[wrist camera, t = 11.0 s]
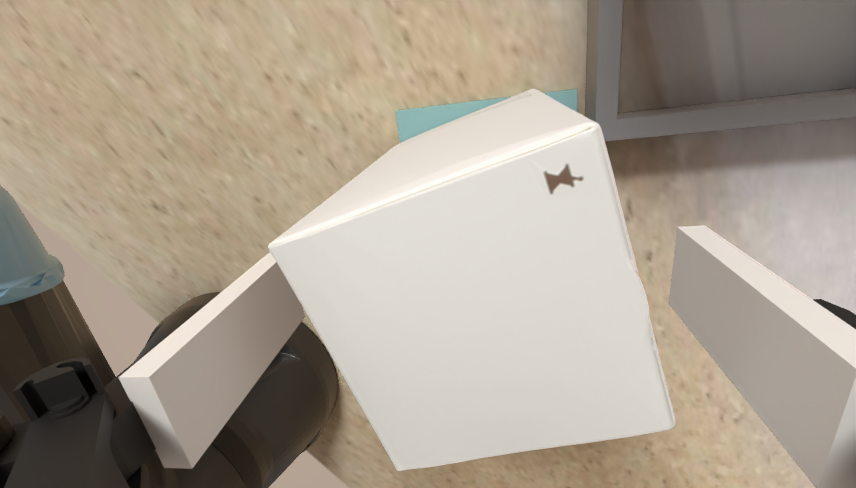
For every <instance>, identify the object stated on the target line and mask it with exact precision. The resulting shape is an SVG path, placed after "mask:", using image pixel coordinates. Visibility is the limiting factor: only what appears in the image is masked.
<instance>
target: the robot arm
mask: <svg viewBox="0 0 856 488" xmlns="http://www.w3.org/2000/svg"><path fill="white" fill-rule="evenodd" d="M63 278H64V270H63V266H62V264H61V262H60V261H59V260H58V259H57V258H56V257H54V256H51V255H50V254H48V252H47V251H46V249H45V247H44V246H43V244H42V243H41V241H40V239H39V238H38V236H37V235H36V233H35V232H34V230H33V228H32V227H31V225H30V224H29V222H28V220H27V219H26V217H25V216H24V214H23V213H22V211H21V209H20V208H19V206H18V205H17V203H16V201H15V200H14V199H13V197H12V196H11V195H10V194H9V193H8V191H6V190H5V189H4V188H3V187H2V186H1V185H0V488H268V487H269V486H270V485H271V484H272V483H273V482H274V481H275V480H276V479H277V478H278V477H279V476H280V475H281V474H282V473H283V472H284V471H285V470H286V469H287V467H288V466H289V465H290V464H291V463H292V462H293V461H294V460H295V459H296V458H297V457H298V456H299V454H301V453H302V452H304V451H305V450H306V449H307V448H308V447H310V446H311V445H312V444H313V443H314V442H315V441H316V439H317V438H318V437H319V435H320V434H321V432H322V431H323V429H324V427H325V425H326V423H327V421H328V419H329V417H330V415H331V413H332V411H333V409H334V406H335V403H336V399H337V391H338V385H337V377H336V372H335V369H334V366H333V363H332V361H331V359H330V356H329V354H328V353H327V351H326V349H325V348H324V346H323V345H322V343H321V342H320V341H319V339H318V338H317V337H316V336H315V334H314V333H313V332H312V331H311V330H310V329H309V328H308V327H307V326H306V325H305V324H304V323H302V322H301V321H302V320H303V319H304V317H305V315H304V311H303V308H302V305H301V303H300V301H299V300H298V298H297V296H296V294H295V293H294V291H293V289H292V288H291V286H290V284H289V282H288V281H287V279H286V277H285V276H284V274H283V272H282V270H281V269H280V267H279V265H278V264H277V262H276V260H275V259H274V257H273V256H272V254H271V253H269V254H267V255H266V256H264V257H263V258H262V259H261V260H260V261H258V262H257V263H256V264H255V265H254V266H252V267H251V268H250V269H249V270H247V271H246V272H245V273H244V274H243V275H241V276H240V277H239V278H238V279H237V280H235V281H234V282H233V283H232V284H231V285H229V286H228V287H227V288H226V289H225V290H223V291H222V292H215V293H209V294H205V295H201V296H198V297H196V298H193V299H191V300H190V301H188V302H186V303H185V304H183V305H182V306H181V307H179V308H178V309H177V310H175V311H174V312H173V313H171V314H170V315H169V316H167V317H166V318H165V319H164V320H163V321H162V322H161V323H160V324H159V325H158V326H157V327H156V328H155V330H154V331H153V332H152V334H151V336H150V338H149V340H148V342H147V344H146V346H145V348H144V349H143V350H142V352H141V353H140V354H139V356H138V357H137V359H136V360H135V361H134V363H133V364H131V365H130V366H129V367H128V368H127V369H125V370H124V371H123V372H122V373H121V374H119V375H118V376H117V377H116V376H115V375H114V373H113V371H112V369H111V368H110V366H109V364H108V362H107V360H106V359H105V357H104V355H103V353H102V351H101V349H100V348H99V346H98V344H97V342H96V340H95V338H94V336H93V335H92V333H91V331H90V329H89V327H88V325H87V324H86V322H85V320H84V318H83V316H82V314H81V313H80V311H79V309H78V307H77V305H76V303H75V301H74V300H73V298H72V296H71V294H70V292H69V290H68V289H67V287H66V285H65V283H64V281H63ZM669 305H670V306H671V307H672V309H673V310H674V311H675V312H676V314H677V315H678V316H679V317H680V319H681V320H682V321H683V322H684V324H685V325H686V326H687V327H688V329H689V330H690V331H691V332H692V334H693V335H694V336H695V337H696V339H697V340H698V341H699V342H700V344H701V345H702V346H703V347H704V348H705V350H706V351H707V352H708V353H709V355H710V356H711V357H712V358H713V360H714V361H715V362H716V363H717V365H718V366H719V367H720V368H721V370H722V371H723V372H724V373H725V375H726V376H727V377H728V378H729V380H730V381H731V382H732V383H733V385H734V386H735V387H736V388H737V390H738V391H739V392H740V393H741V395H742V396H743V397H744V398H745V400H746V401H747V402H748V403H749V405H750V406H751V407H752V408H753V410H754V411H755V412H756V413H757V415H758V416H759V417H760V418H761V420H762V421H763V422H764V423H765V425H766V426H767V427H768V428H769V430H770V431H771V432H772V433H773V435H774V436H775V437H776V438H777V440H778V441H779V442H780V443H781V445H782V446H783V447H784V448H785V450H786V451H787V452H788V453H789V455H790V456H791V457H792V458H793V460H794V461H795V462H796V463H797V465H798V466H799V467H800V468H801V470H802V471H803V472H804V473H805V475H806V476H807V477H808V478H809V480H810V481H811V482H812V483H813V484H814V486H815V487H816V488H856V315H855V314H854V313H852V312H850V311H849V310H846V309H844V308H841V307H839V306H836V305H834V304H831V303H829V302H826V301H824V300H822V299H814V300H812V299H811V298H809V297H808V296H806V295H805V294H804V293H802V292H801V291H799V290H798V289H796V288H795V287H793V286H792V285H790V284H789V283H788V282H786V281H785V280H783V279H782V278H780V277H779V276H777V275H776V274H774V273H773V272H772V271H770V270H769V269H767V268H766V267H764V266H763V265H761V264H760V263H758V262H757V261H756V260H754V259H753V258H751V257H750V256H748V255H747V254H745V253H744V252H742V251H741V250H740V249H738V248H737V247H735V246H734V245H732V244H731V243H729V242H728V241H726V240H725V239H724V238H722V237H721V236H719V235H718V234H716V233H715V232H713V231H712V230H710V229H709V228H708V227H706V226H705V225H702V226H687V227H677V236H676V244H675V253H674V261H673V270H672V279H671V287H670V296H669Z"/></svg>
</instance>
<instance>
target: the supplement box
mask: <svg viewBox="0 0 856 488" xmlns="http://www.w3.org/2000/svg"><path fill="white" fill-rule="evenodd" d="M268 249H269V251H270V252H271V254H272V256H273V257H274V259H275V260H276V262H277V264H278V265H279V267H280V269H281V270H282V272H283V274H284V276H285V277H286V279H287V281H288V282H289V284H290V286H291V288H292V289H293V291H294V293H295V294H296V296H297V298H298V300H299V301H300V303H301V305H302V306H303V308H304V310H305V312H306V313H307V315H308V317H309V319H310V320H311V322H312V324H313V326H314V327H315V329H316V331H317V332H318V334H319V336H320V338H321V339H322V341H323V343H324V345H325V346H326V348H327V350H328V352H329V353H330V355H331V357H332V358H333V360H334V362H335V364H336V365H337V367H338V369H339V371H340V372H341V374H342V376H343V377H344V379H345V381H346V383H347V384H348V386H349V388H350V389H351V391H352V393H353V395H354V396H355V398H356V400H357V401H358V403H359V405H360V407H361V408H362V410H363V412H364V413H365V415H366V417H367V419H368V420H369V422H370V424H371V426H372V427H373V429H374V431H375V433H376V434H377V436H378V438H379V440H380V441H381V443H382V445H383V447H384V448H385V450H386V452H387V454H388V455H389V457H390V459H391V461H392V462H393V464H394V466H395V468H396V470H397V471H398V472H399V471H404V470H409V469H417V468H427V467H435V466H441V465H447V464H453V463H459V462H464V461H469V460H474V459H480V458H485V457H492V456H500V455H506V454H513V453H519V452H525V451H533V450H540V449H547V448H554V447H561V446H569V445H577V444H585V443H592V442H599V441H606V440H612V439H619V438H626V437H633V436H639V435H644V434H650V433H656V432H661V431H666V430H670V429H672V428H674V426H675V423H676V421H675V417H674V412H673V408H672V404H671V400H670V396H669V392H668V388H667V384H666V380H665V377H664V373H663V369H662V365H661V361H660V357H659V353H658V349H657V345H656V341H655V337H654V333H653V329H652V325H651V321H650V316H649V306H648V302H647V297H646V293H645V290H644V287H643V285H642V282H641V280H640V278H639V274H638V270H637V266H636V262H635V258H634V254H633V250H632V246H631V242H630V238H629V234H628V231H627V227H626V223H625V219H624V215H623V211H622V207H621V203H620V199H619V195H618V190H617V186H616V182H615V178H614V174H613V170H612V166H611V163H610V159H609V155H608V151H607V147H606V144H605V140H604V136H603V132H602V129H601V127H600V125H599V124H598V123H596V122H594V121H592V120H590V119H589V118H587V117H585V116H583V115H581V114H580V113H577V112H576V111H574V110H572V109H570V108H568V107H567V106H565V105H563V104H561V103H559V102H558V101H556V100H554V99H552V98H551V97H549V96H547V95H545V94H544V93H542V92H540V91H538V90H536V89H531V90H528V91H525V92H523V93H520V94H518V95H515V96H513V97H510V98H508V99H505V100H503V101H500V102H498V103H496V104H493V105H491V106H488V107H485V108H483V109H480V110H478V111H475V112H473V113H470V114H468V115H466V116H463V117H461V118H458V119H456V120H453V121H451V122H448V123H446V124H443V125H441V126H438V127H436V128H434V129H431V130H429V131H426V132H424V133H421V134H419V135H417V136H415V137H413V138H410V139H408V140H406V141H404V142H401V143H400V144H398V145H396V146H394V147H393V148H392V149H390V150H389V151H388V152H387V153H385V154H384V155H383V156H381V157H380V158H379V159H377V160H376V161H375V162H374V163H372V164H371V165H370V166H369V167H367V168H366V169H365V170H364V171H363V172H361V173H360V174H359V175H358V176H356V177H355V178H354V179H353V180H351V181H350V182H349V183H347V184H346V185H345V186H344V187H342V188H341V189H340V190H338V191H337V192H336V193H335V194H333V195H332V196H331V197H329V198H328V199H327V200H325V201H324V202H323V203H322V204H320V205H319V206H318V207H317V208H315V209H314V210H313V211H311V212H310V213H309V214H307V215H306V216H305V217H304V218H302V219H301V220H300V221H298V222H297V223H296V224H294V225H293V226H292V227H291V228H289V229H288V230H287V231H285V232H284V233H283V234H281V235H280V236H279V237H278V238H276V239H275V240H274V241H273V242H271V243H270V244H269V246H268Z"/></svg>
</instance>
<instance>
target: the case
mask: <svg viewBox="0 0 856 488" xmlns="http://www.w3.org/2000/svg"><path fill="white" fill-rule="evenodd" d="M622 15H623V0H588V16H587V60H586V104H585V117H587V118H589V119H590V120H592V121H594V122H596V123H598V124H599V125H600V127H601V129H602V132H603V136H604V140H605V141H614V140H624V139H635V138H645V137H656V136H666V135H676V134H687V133H697V132H708V131H718V130H729V129H739V128H749V127H760V126H770V125H781V124H791V123H801V122H812V121H822V120H833V119H843V118H854V117H856V88H848V89H839V90H830V91H821V92H811V93H802V94H793V95H783V96H774V97H765V98H755V99H746V100H737V101H728V102H718V103H709V104H700V105H690V106H681V107H672V108H662V109H653V110H644V111H635V112H625V113H618V93H619V74H620V54H621V35H622Z"/></svg>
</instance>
